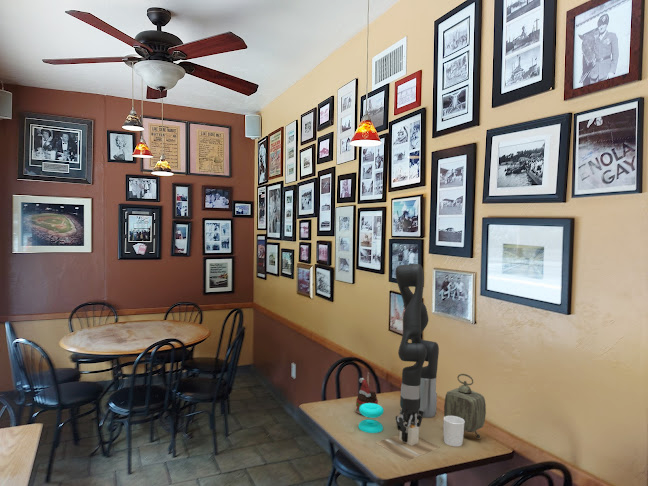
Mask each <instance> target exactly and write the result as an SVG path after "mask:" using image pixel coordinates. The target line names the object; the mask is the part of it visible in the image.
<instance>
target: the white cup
mask: <svg viewBox="0 0 648 486" xmlns="http://www.w3.org/2000/svg"><path fill="white" fill-rule="evenodd" d="M464 424H465V421H464V419H462V418H460V417H457V416H445V417H444V416H443V428H442V429H443V442H444V443H445V444H446V445H448V446H450V447H461V446H462V445H463V442H464V441H463V440H464V433H465V431H464Z"/></svg>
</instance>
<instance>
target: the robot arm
mask: <svg viewBox="0 0 648 486" xmlns="http://www.w3.org/2000/svg"><path fill="white" fill-rule="evenodd" d="M423 268H424V267H423V266H422V265H421V264H420V263H411V264H401V265H400V264H399V265H398V266H397V267H396V268H395V280H396V282H397V285H398V286H397V287H398V289H399V293H400V295H401V298H402V303H403V306H404V312H403V314H402V336H401V341H400V344H399V348H398V353H397V354H398V358H399V359H400V360H401V361H402V362H409V363H410V362H411V363H414V364H413V365H409V366H405V367H403V369H402V373H401V374H402V375H401V386H400V400H399V401H400V402H399V405H400V409H402V411H401V415H400V414H399V415H400V416H399V415H395V422H396V423H395V424H396V429H397V428H398V429H397V430H398V431H399V432H400V431H402V441H404V442H407V441H408V428H409V427H410V424H412V425H415V426H417V427H419V428H420V427H421V424H422V421H423V418H432V417H433V418H434V417H435V415H436V414H437V401H438V399H437V398H438V393H437V375H438V374H437V373H438V364H439V363H438V361H439V355H440V353H439V352H440V348H439V344H438V342H436V341H431V340H425V339H422V333H423V332H424V330H425V329H426V328H427V326H428V323H429V314H428V310H427V306H426V305H425V303H424V302H423V296H424V294H423V293H424V283H425V276H424V275H425V274H424V273H425V272H424V269H423ZM413 287H414V293H413V292H412V290H411V289H410V288H413ZM409 340H411V342H409ZM425 362H427V365H426V366H424V363H425ZM405 422H407V423H405ZM404 426H406V428H404Z"/></svg>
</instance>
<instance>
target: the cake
mask: <svg viewBox="0 0 648 486" xmlns="http://www.w3.org/2000/svg"><path fill="white" fill-rule="evenodd" d="M366 374H367V375H366V379H365V378H364V377H360V378H359V379H358V381H359V383H361V385H360V386H359V388H358V390H359V394H358V395H357V398H356V402H355V407H356V409H355V411H356V413H358V414H360V415H362V414H361V413H360V411H359V407H360V406H361V405H362V404H365V403H374V404H378V402H379V400H378V397H377V393H376V391H374V390H370V372H367V373H366ZM378 405H379V404H378Z"/></svg>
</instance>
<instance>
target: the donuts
mask: <svg viewBox="0 0 648 486" xmlns="http://www.w3.org/2000/svg"><path fill="white" fill-rule="evenodd" d="M359 411H360V413H361V414H360V415H362V416H364V417H366V418H368V419H362V420H361V421H360V422H359V423H358V429H359V430H360V431H362V432H364V433H367V434H377V433H381V432H382V431H383V430H384V426H383V424H382V423H381V422H380V421H378V420H376V418H381V417H382V415H383V414H384V411H385V410H384V408H383V406H381V405H380V404H374V403H365V404H362V405H361V406H360V407H359ZM371 418H372V419H371ZM374 418H375V419H374Z"/></svg>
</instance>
